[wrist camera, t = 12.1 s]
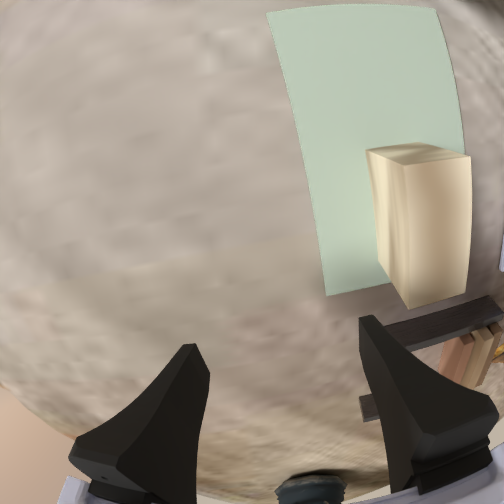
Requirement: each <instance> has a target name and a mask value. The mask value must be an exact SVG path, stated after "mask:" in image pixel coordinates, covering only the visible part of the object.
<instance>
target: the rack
mask: <svg viewBox="0 0 504 504" xmlns="http://www.w3.org/2000/svg"><path fill="white" fill-rule="evenodd" d="M503 315H504V312H503V311H502V310H501V309H500V308H499V306H498V305H497V304H496V303H495V302H494V301H493V300H492V298H491V297H490V296H489V295H488V296H485V297H482V298H479V299H476V300H474V301H471V302H468V303H465V304H461V305H458V306H455V307H452V308H449V309H446V310H442V311H439V312H436V313H432V314H429V315H425V316H422V317H418V318H414V319H411V320H407V321H403V322H399V323H395V324H391V325H387V326H384V327H385V328H386V330H387V331H388V332H389V333H390V334H391V335H392V336H393V337H394V338H395V339H396V340H397V341H398V342H400V343H401V344H402V345H403V346H404V347H405V348H406V349H407V350H408V351H409V352H412V351H416V350H419V349H422V348H426V347H429V346H432V345H435V344H438V343H441V342H444V341H447V340H450V339H453V338H456V337H459V336H462V335H465V334H467V333H470V332H473V331H475V330H478V329H481V328H483V327H486V326H488V325H491V324H493V323H496V322H498V321H500V320H502V318H503ZM359 403H360V408H361V412H362V417H363V422H368V421H372V420H376V419H380V417H379V413H378V410H377V407H376V404H375V401H374V398H373V395H372V394H369V395H365V396H361V397H359Z"/></svg>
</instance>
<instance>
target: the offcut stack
mask: <svg viewBox="0 0 504 504" xmlns="http://www.w3.org/2000/svg"><path fill="white" fill-rule="evenodd" d="M502 332H503V329H502V328H501V327H500V326H499V324H498V323H497V322H496V323H493V324H491V325H488V326H486V327H483V328H481V329H478V330H475V331H473V332H470V333H467V334H465V335H462V336H459V337H456V338H453V339H450V340H447V341H445V343H444V347H443V351H442V355H441V359H440V363H439V367H438V371H439V373H440V374H441V375H443V376H445V377H446V378H448V379H450V380H452V381H454V382H455V383H458V384H460V385H462V386H464V387H466V388H469V389H471V390H474V388H475V387H477V386H479V385H482V382H483V380H484V378H485V376H486V374H487V371H488V369H489V367H490V364H491V362H492V359H493V357H494V354H495V352H496V349H497V346H498V344H499V341H500V338H501V335H502Z"/></svg>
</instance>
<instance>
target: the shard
mask: <svg viewBox="0 0 504 504" xmlns="http://www.w3.org/2000/svg"><path fill="white" fill-rule="evenodd" d="M498 362H501V363H504V344H502V345H501V346H500V347H499V348H497V349H496V352H495V354H494V357H493V359H492V363H498Z"/></svg>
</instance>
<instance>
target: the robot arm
mask: <svg viewBox="0 0 504 504" xmlns="http://www.w3.org/2000/svg"><path fill="white" fill-rule="evenodd" d="M499 270H500V271H502V272H504V236H503V244H502V252H501V258H500V264H499ZM359 352H360V356H361V360H362V365H363V369H364V372H365V375H366V378H367V381H368V384H369V387H370V389H371V392H372V395H373V398H374V401H375V404H376V407H377V410H378V413H379V417H380V421H381V426H382V431H383V436H384V442H385V448H386V454H387V461H388V469H389V478H390V488H391V494H390V495H386V496H382V497H378V498H374V499H370V500H366V501H360V502H356V503H350V504H504V442H503V443H501V444H500V445H498V446H496V447H495V448H494V449H492V450H491V451H490V450H489V448H488V445H489V444H490V440H489V438H488V434H489V433H490V432H491V430H492V429H493V427H494V426H495V425H496V423H497V421H498V419H499V413H498V411H497V409H496V406H495V405H494V403H493V401H492V400H491V399H490V397H489V395H486V394H483V393H480V392H477V391H474V390H471V389H469V388H466V387H464V386H462V385H460V384H458V383H455V382H454V381H452V380H450V379H448V378H446V377H445V376H443V375H441V374H439V373H438V372H436V371H435V370H433V369H431V368H430V367H429V366H427V365H426V364H424V363H423V362H422V361H420V360H419V359H418V358H417V357H415V356H414V355H413V354H412V353H411V352H409V351H408V350H407V349H406V348H405V347H404V346H403V345H402V344H401V343H400V342H398V341H397V340H396V339H395V338H394V337H393V336H392V335H391V334H390V333H389V332H388V331H387V330H386V328H385V327H384V326H383V325H382V324H381V323H380V322H379V321H378V320H377V318H376V317H375V316H374V315H368V316H364V317H359ZM209 382H210V372H209V370H208V368H207V366H206V364H205V362H204V360H203V358H202V356H201V354H200V352H199V349H198V347H197V345H196V343H194V344H183V346H182V347H181V348H180V349H179V350H178V352H177V353H176V354H175V355H174V357H173V358H172V359H171V360H170V362H169V363H168V364H167V365H166V366H165V368H164V369H163V370H162V371H161V373H160V374H159V375H158V376H157V377H156V378H155V379H154V381H153V382H152V383H151V384H150V385H149V386H148V387H147V388H146V389H145V390H144V391H143V392H142V393H141V394H140V395H139V396H138V397H137V398H136V399H135V400H134V401H133V402H132V403H131V404H129V405H128V406H127V407H126V408H125V409H123V410H122V411H121V412H119V413H118V414H117V415H115V416H114V417H113V418H111V419H110V420H108V421H107V422H105V423H103V424H102V425H100V426H98V427H97V428H95V429H93V430H91V431H89V432H87V433H85V434H83V435H81V436H78V437H77V438H76V440H75V443H74V445H73V447H72V450H71V452H70V454H69V456H68V458H69V461H70V462H71V463H72V464H73V465H74V466H75V467H76V468H78V469H79V470H80V471H81V472H83V473H84V474H86V475H87V476H88V477H90V478H91V479H92V481H91V483H88V482H86V481H83V480H80V479H77V478H75V477H72V476H67V479H66V481H65V484H64V487H63V489H62V491H61V494H60V497H59V499H58V502H57V504H197V498H196V468H197V452H198V441H199V434H200V429H201V425H202V420H203V416H204V411H205V407H206V402H207V398H208V393H209Z"/></svg>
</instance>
